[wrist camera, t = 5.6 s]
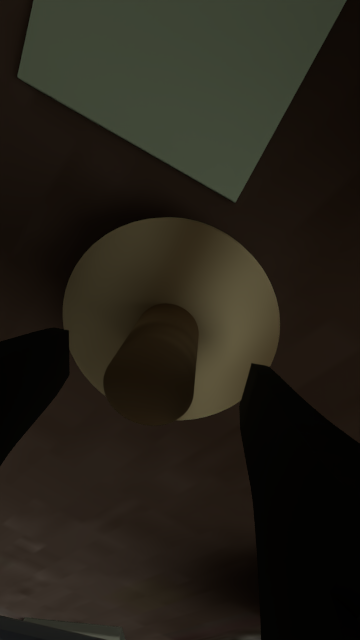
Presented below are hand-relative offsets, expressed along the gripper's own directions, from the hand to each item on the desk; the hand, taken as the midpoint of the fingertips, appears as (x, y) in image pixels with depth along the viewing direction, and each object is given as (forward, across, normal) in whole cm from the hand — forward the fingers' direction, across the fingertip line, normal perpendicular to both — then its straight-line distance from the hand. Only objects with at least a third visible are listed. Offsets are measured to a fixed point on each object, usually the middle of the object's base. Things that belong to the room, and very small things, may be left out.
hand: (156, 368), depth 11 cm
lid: (+4, 0, 0) cm, 4 cm away
